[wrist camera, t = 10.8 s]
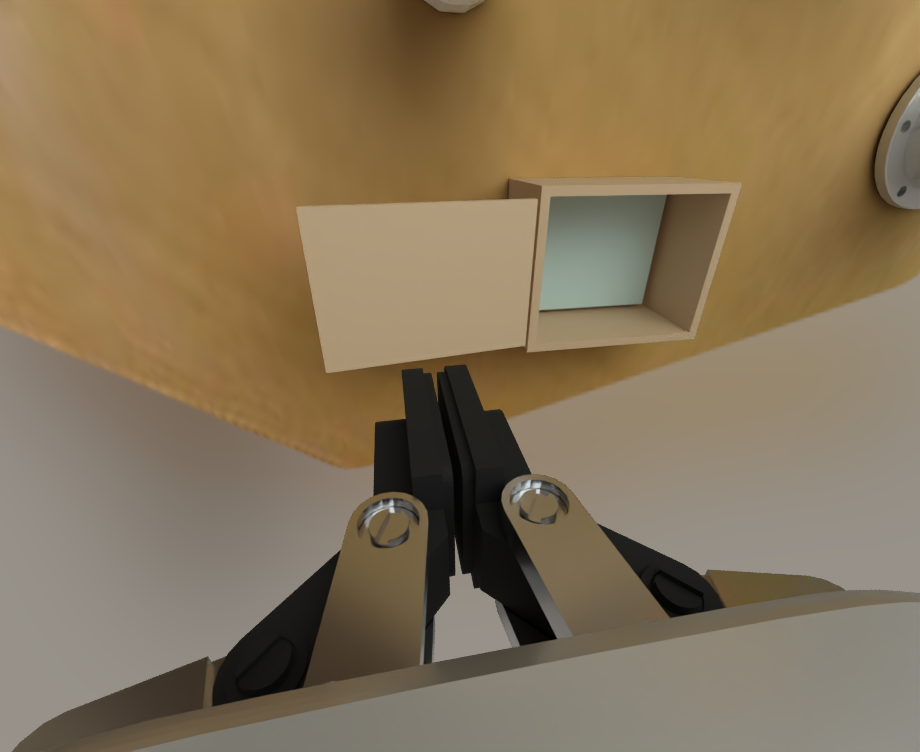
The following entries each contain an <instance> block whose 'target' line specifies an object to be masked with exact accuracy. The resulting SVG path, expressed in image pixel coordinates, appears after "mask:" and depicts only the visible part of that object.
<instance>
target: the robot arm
mask: <svg viewBox="0 0 920 752" xmlns="http://www.w3.org/2000/svg"><path fill="white" fill-rule="evenodd" d="M875 181H876V186H877V189H878V191H879V193H880V195H881V197H882V198H883V199H884V200H885V201H886V202H887V203H888V204H890V205H892V206H895V207H898V208H905V209H920V75H919V76H918V77H917V78H916V79H915V80H914V82H913V83H912V84H911V86H910V87H909V88H908V90H907V91H906V92H905V94H904V95H903V96H902V98H901V99H900V101H899V103H898V104H897V106H896V107H895V109H894V111H893V112H892V114H891V116H890V118H889V120H888V122H887V125H886V127H885V129H884V131H883V134H882V137H881V140H880V143H879V146H878V149H877V155H876V160H875ZM402 380H403V392H404V403H405V414H406V419H401V420H391V421H381V422H376V423H375V452H374V496H373V497H371V498H369V499H368V500H366V501H364V502H363V503H362V504H360V505H359V506H358V508H357V509H356V510H355V511H354V512H353V514H352V516H351V518H350V520H349V522H348V526H347V529H346V533H345V537H344V540H343V544H342V548H341V550H340V551H339V552H338V553H337V554H336V555H334V556H333V557H332V558H331V559H330V560H329V561H328V562H326V563H325V564H324V565H323V566H322V567H321V568H320V569H319V570H318V571H317V572H315V573H314V574H313V575H312V576H311V577H310V578H309V579H308V580H306V581H305V582H304V583H303V584H302V585H301V586H300V587H299V588H298V589H297V590H295V591H294V592H293V593H292V594H291V595H290V596H289V597H288V598H286V600H284V601H283V602H282V603H281V604H280V605H279V606H278V607H276V608H275V609H274V610H273V611H272V612H271V613H270V614H269V615H268V616H267V617H265V618H264V619H263V620H262V621H261V622H260V623H259V624H257V625H256V626H255V627H254V628H253V629H252V630H251V631H250V632H249V633H247V634H246V635H245V636H244V637H243V638H242V639H241V640H240V641H239V642H238V643H237V644H236V645H235V647H234V648H233V649H232V650H231V651H230V652H229V653H228V655H227V656H225V657H223V658H220V659H218V660H215V661H213V662H211V661H210V659H209V657H205V658H202V659H200V660H197V661H195V662H192V663H190V664H187V665H184V666H182V667H179V668H177V669H174V670H172V671H169V672H167V673H164V674H161V675H159V676H156V677H154V678H151V679H148V680H146V681H143V682H141V683H138V684H136V685H133V686H131V687H128V688H125V689H123V690H120V691H118V692H115V693H113V694H110V695H108V696H105V697H102V698H100V699H97V700H95V701H92V702H90V703H87V704H84V705H82V706H79V707H77V708H74V709H71V710H69V711H67V712H64V713H62V714H61V715H59V716H57V717H55V718H53V719H51V720H49V721H47V722H46V723H44V724H42V725H41V726H40V727H39V728H37V729H36V730H35V731H34V732H32V733H31V734H30V735H29V736H27V737H26V738H25V739H24V740H22V741H21V742H20V743H19V744H18V745H17V746H16V748H15V749H14V750H13V751H12V752H920V593H913V592H902V591H888V590H844V589H843V588H841V587H840V586H838V585H835V584H833V583H831V582H829V581H826V580H824V579H821V578H815V577H811V576H802V575H786V574H785V575H784V574H769V573H753V572H752V573H751V572H737V571H721V570H707V572H706V574H705V575H700V574H699V573H698V572H696V571H694V570H693V569H691V568H689V567H688V566H686V565H684V564H682V563H680V562H678V561H676V560H674V559H672V558H670V557H667V556H665V555H663V554H661V553H659V552H657V551H655V550H653V549H651V548H648V547H646V546H644V545H642V544H640V543H638V542H636V541H633V540H631V539H629V538H627V537H625V536H623V535H621V534H618V533H616V532H614V531H612V530H610V529H608V528H606V527H604V526H601V525H599V524H597V523H596V522H595V520H594V519H593V518H592V517H591V515H590V514H589V513H588V511H587V510H586V509H585V507H584V506H583V505H582V504H581V502H580V501H579V500H578V498H577V497H576V496H575V494H574V493H573V492H572V491H571V490H570V489H569V488H568V487H567V486H566V485H565V484H563V483H562V482H560V481H558V480H557V479H554V478H551V477H548V476H545V475H537V474H531V472H530V470H529V468H528V466H527V463H526V461H525V459H524V457H523V455H522V453H521V450H520V448H519V446H518V444H517V442H516V440H515V437H514V435H513V433H512V431H511V429H510V427H509V424H508V422H507V420H506V418H505V416H504V414H503V412H502V410H500V409H498V410H489V411H484V410H483V407H482V405H481V402H480V400H479V397H478V394H477V392H476V389H475V387H474V384H473V382H472V379H471V376H470V374H469V371H468V369H467V366H466V365H454V366H445V368H444V372H437V387H438V402H437V397H436V393H435V388H434V384H433V379H432V375H431V373H424V374H423V369H422V368H419V369H407V370H402ZM455 539H456V544H457V549H458V555H459V560H460V565H461V570H462V574H467V573H471V576H472V581H473V586H474V588H480V589H481V590H482V591H483V592H485V593H486V594H488V595H489V596H491V597H493V598H494V599H495V603H496V607H497V612H498V614H499V617H500V619H501V622H502V624H503V626H504V629H505V631H506V634H507V636H508V639H509V641H510V643H511V646H512V648H509V649H503V650H498V651H493V652H488V653H483V654H477V655H472V656H466V657H461V658H456V659H451V660H445V661H440V662H435V663H434V639H435V614H436V613H437V611H438V610H439V609H440V607H441V606H442V605H443V603H444V602H445V601H446V599H447V598H448V597H449V595H450V580H449V576H455Z"/></svg>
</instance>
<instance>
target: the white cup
mask: <svg viewBox="0 0 920 752" xmlns="http://www.w3.org/2000/svg"><path fill="white" fill-rule="evenodd" d="M424 1H425V2H427V3H428V4H430V5H431V6H433V7H434V8H435V9H437V10H438V11H440V12H454V13H465V12H467V11H469V10H470V9H472V8H474V7H476V6H478V5H479V4H481V3H483V2H485V1H486V0H424Z"/></svg>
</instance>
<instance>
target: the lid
mask: <svg viewBox="0 0 920 752" xmlns="http://www.w3.org/2000/svg"><path fill="white" fill-rule="evenodd" d="M537 205H538V199H535V198H529V199H500V200H470V201H441V202H411V203H382V204H352V205H323V206H296V211H297V216H298V222H299V227H300V233H301V238H302V244H303V249H304V255H305V260H306V266H307V271H308V277H309V282H310V287H311V293H312V298H313V304H314V309H315V315H316V320H317V326H318V331H319V337H320V342H321V348H322V353H323V359H324V364H325V370H326V373H332V372H339V371H346V370H354V369H361V368H368V367H375V366H382V365H390V364H397V363H404V362H411V361H419V360H426V359H433V358H440V357H447V356H455V355H462V354H469V353H476V352H484V351H491V350H498V349H505V348H512V347H520V346H525V342H526V331H527V319H528V308H529V296H530V285H531V274H532V262H533V251H534V239H535V228H536V217H537Z"/></svg>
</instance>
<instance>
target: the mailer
mask: <svg viewBox="0 0 920 752" xmlns="http://www.w3.org/2000/svg"><path fill="white" fill-rule="evenodd" d="M741 186H742V183H736V182H726V181H715V180H704V179H693V178H683V177H597V178H509V188H508V199H529V198H535V199H538V205H537V217H536V228H535V239H534V251H533V262H532V274H531V285H530V296H529V308H528V319H527V331H526V342H525V346H523V348H524V349H525V350H526V352H539V351H551V350H564V349H576V348H589V347H601V346H614V345H626V344H638V343H651V342H663V341H676V340H688V339H694V338H695V335H696V332H697V328H698V325H699V322H700V319H701V315H702V312H703V309H704V306H705V303H706V299H707V296H708V293H709V290H710V286H711V283H712V280H713V277H714V273H715V270H716V267H717V264H718V260H719V257H720V254H721V251H722V248H723V244H724V241H725V238H726V235H727V231H728V228H729V225H730V222H731V218H732V215H733V212H734V209H735V205H736V202H737V199H738V196H739V193H740V189H741Z"/></svg>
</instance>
